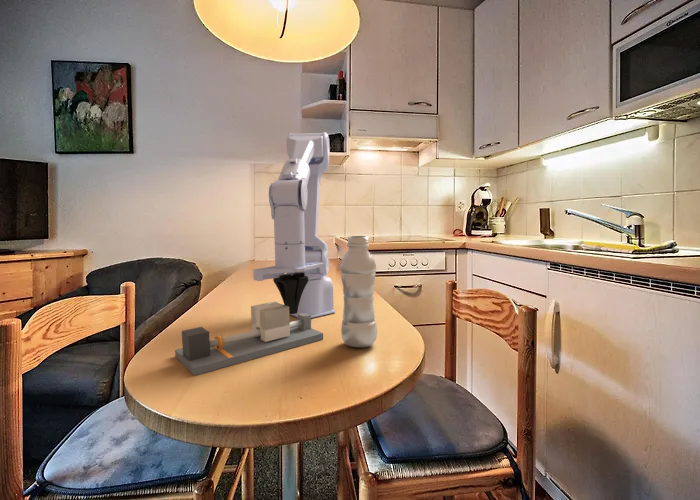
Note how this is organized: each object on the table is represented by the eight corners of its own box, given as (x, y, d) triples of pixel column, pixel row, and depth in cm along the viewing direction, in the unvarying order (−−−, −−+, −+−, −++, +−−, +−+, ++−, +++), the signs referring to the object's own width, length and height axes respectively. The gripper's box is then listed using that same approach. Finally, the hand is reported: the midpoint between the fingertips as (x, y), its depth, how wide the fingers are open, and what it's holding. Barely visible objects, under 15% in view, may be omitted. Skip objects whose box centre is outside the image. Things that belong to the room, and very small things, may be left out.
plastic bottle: (366, 354, 62) (365, 238, 60) (333, 347, 66) (332, 237, 64) (383, 343, 68) (383, 235, 66) (352, 337, 71) (351, 235, 69)
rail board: (295, 327, 78) (295, 303, 77) (323, 339, 70) (322, 312, 69) (175, 356, 62) (173, 326, 62) (194, 375, 55) (192, 342, 54)
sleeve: (275, 328, 72) (274, 301, 71) (289, 335, 68) (289, 306, 67) (252, 334, 69) (250, 306, 68) (265, 341, 65) (264, 311, 64)
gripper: (265, 247, 62) (267, 324, 63) (332, 242, 71) (333, 310, 72) (247, 244, 67) (249, 316, 68) (312, 240, 76) (313, 303, 78)
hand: (291, 312), depth 71 cm, fingers closed
